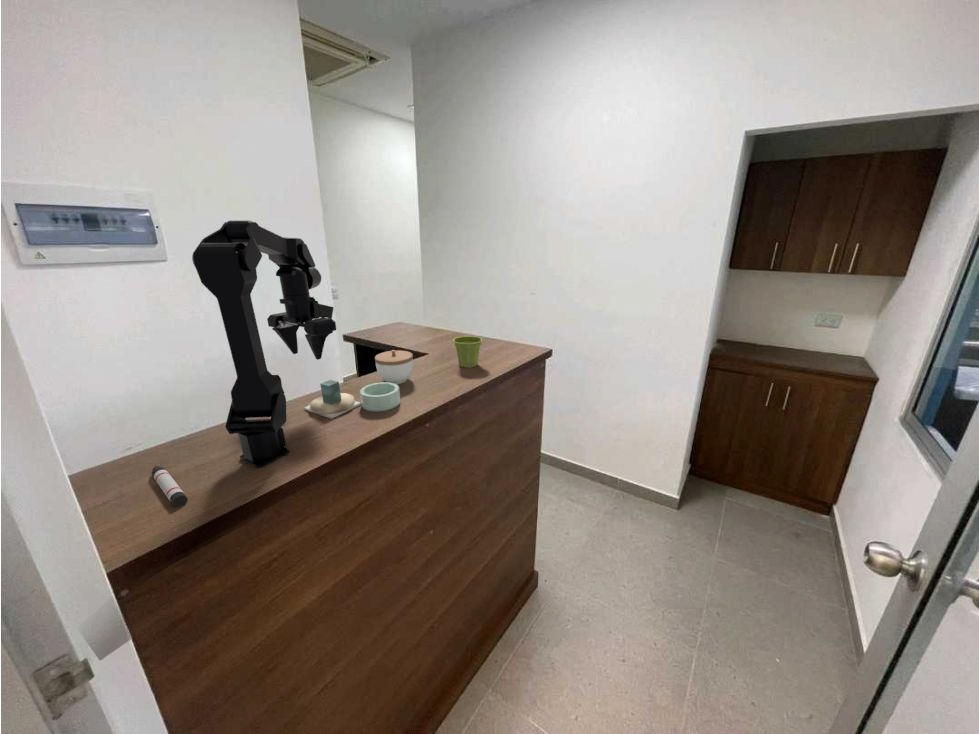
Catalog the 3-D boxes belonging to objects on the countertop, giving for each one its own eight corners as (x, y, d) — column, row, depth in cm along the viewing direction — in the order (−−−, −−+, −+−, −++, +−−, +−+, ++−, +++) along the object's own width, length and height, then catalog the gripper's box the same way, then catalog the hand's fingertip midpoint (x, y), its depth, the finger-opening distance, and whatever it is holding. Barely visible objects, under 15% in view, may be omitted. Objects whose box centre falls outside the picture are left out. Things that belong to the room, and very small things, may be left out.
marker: (189, 503, 62) (185, 493, 62) (174, 509, 61) (170, 499, 60) (163, 469, 71) (160, 460, 71) (149, 474, 70) (146, 464, 69)
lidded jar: (405, 388, 107) (403, 357, 104) (370, 386, 109) (367, 354, 106) (420, 375, 117) (417, 346, 114) (387, 373, 119) (384, 344, 116)
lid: (329, 418, 89) (325, 394, 87) (301, 408, 94) (296, 385, 92) (363, 401, 97) (360, 379, 95) (336, 393, 102) (333, 372, 100)
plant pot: (451, 362, 129) (450, 337, 126) (478, 359, 131) (477, 334, 128) (457, 371, 120) (456, 344, 117) (486, 368, 123) (485, 342, 120)
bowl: (381, 414, 92) (379, 399, 90) (353, 406, 96) (351, 391, 95) (407, 400, 99) (406, 386, 98) (381, 393, 104) (379, 379, 102)
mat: (331, 418, 90) (331, 416, 90) (304, 409, 94) (304, 407, 94) (361, 404, 97) (360, 402, 97) (334, 396, 102) (334, 394, 102)
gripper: (350, 292, 93) (357, 353, 98) (301, 287, 102) (311, 343, 107) (309, 298, 84) (320, 365, 89) (260, 292, 93) (273, 354, 98)
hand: (306, 356), depth 96 cm, fingers open, 9 cm apart
